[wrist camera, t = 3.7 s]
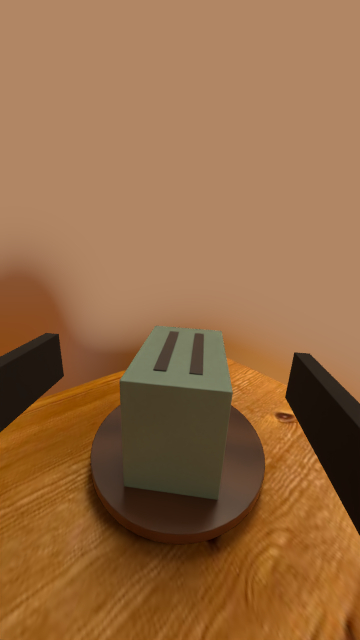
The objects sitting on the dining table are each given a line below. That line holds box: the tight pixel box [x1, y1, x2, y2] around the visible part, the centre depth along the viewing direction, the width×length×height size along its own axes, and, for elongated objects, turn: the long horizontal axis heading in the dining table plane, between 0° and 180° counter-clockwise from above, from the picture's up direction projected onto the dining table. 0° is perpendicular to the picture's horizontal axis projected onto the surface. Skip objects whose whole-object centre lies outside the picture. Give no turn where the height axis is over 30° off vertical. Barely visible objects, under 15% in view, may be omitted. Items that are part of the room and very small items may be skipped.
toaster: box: [91, 326, 265, 544], centre depth 25 cm, size 19×19×12 cm
